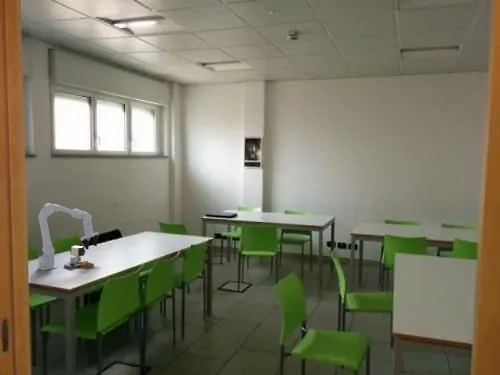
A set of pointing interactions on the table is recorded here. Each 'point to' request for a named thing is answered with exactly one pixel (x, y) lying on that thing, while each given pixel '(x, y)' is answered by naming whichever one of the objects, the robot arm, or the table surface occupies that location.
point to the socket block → (72, 266)
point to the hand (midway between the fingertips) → (91, 247)
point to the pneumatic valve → (77, 252)
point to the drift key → (83, 262)
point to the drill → (72, 261)
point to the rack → (87, 265)
